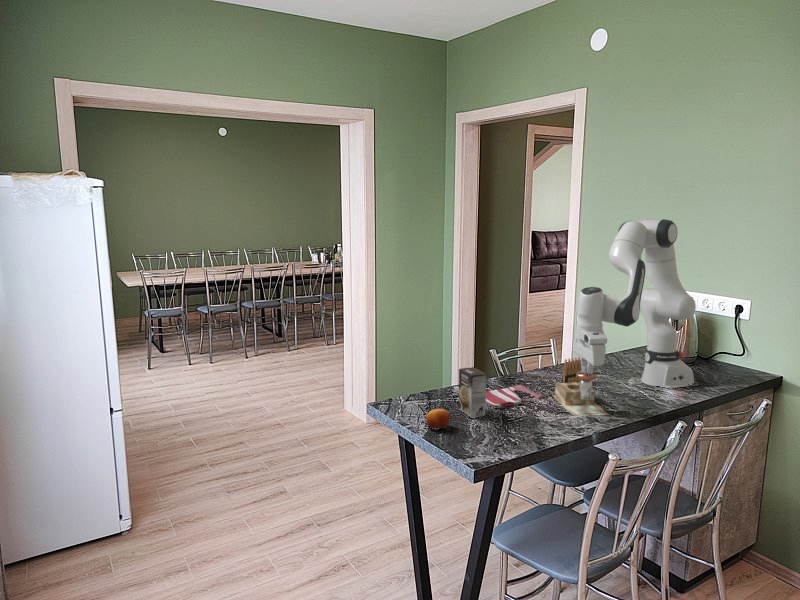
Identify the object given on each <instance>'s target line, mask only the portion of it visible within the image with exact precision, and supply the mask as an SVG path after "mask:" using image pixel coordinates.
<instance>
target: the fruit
mask: <svg viewBox="0 0 800 600" xmlns="http://www.w3.org/2000/svg"><path fill="white" fill-rule="evenodd" d="M450 418H451V416H450V412H449V411H448V410H446V409H445V408H434V409H431V410H430V411H429V412H427V414H426V416H425V419H426V420H425V421H426V425H427V426H430V427H431V428H436V429H438V428H446V429H447V427H448V425H449V424H450ZM431 428H430V429H431Z"/></svg>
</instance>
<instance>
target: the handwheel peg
mask: <svg viewBox="0 0 800 600" xmlns="http://www.w3.org/2000/svg"><path fill="white" fill-rule="evenodd" d="M587 367H588V363H587V364H581V371H578V372H577V373H576V376H577V377H578V378H580V379H581V380H580V399H583V400H591V393H592V390H593V389H592V388H593V380H596V379H597V378H598V374H597V372H595V371H593V373H592V374H589V373H587V372H586V368H587Z"/></svg>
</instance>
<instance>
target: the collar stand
mask: <svg viewBox="0 0 800 600" xmlns="http://www.w3.org/2000/svg"><path fill="white" fill-rule="evenodd" d="M595 395H596V392H595V390H594V389H592V393H591V400H583V399H580V382H577V383H562V382H556V383H555V391H554V394H552V397H554V399H555V400H556V401H557V402H558V403H559V404H561V406H562V407H563V408H564V409H565V410H566V411H567V412H568V413H569V414H570V415H572V416H573V417H576V416H577V417H579V416H602V415H603V416H604V415H605V416H608V415H609V413H607V412H606V411H605V410H604V409H603V408H602V407H601V406H600V405H599V404H597V403H596V402H595Z"/></svg>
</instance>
